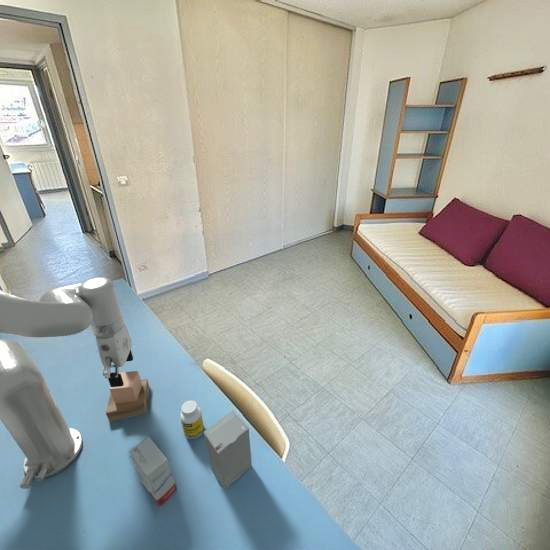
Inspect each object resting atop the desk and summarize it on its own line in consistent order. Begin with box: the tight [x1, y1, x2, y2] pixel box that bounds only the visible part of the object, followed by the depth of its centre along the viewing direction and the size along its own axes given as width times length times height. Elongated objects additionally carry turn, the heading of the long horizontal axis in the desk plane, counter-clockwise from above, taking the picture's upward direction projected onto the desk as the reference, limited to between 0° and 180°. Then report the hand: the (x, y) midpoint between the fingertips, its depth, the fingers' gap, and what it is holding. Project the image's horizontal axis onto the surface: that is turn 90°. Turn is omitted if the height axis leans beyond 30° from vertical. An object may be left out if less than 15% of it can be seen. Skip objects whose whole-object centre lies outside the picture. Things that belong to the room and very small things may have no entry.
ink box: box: [129, 436, 178, 507], centre depth 68 cm, size 9×5×12 cm, turn 48°
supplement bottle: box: [179, 400, 205, 440], centre depth 81 cm, size 5×5×10 cm
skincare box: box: [203, 410, 252, 490], centre depth 70 cm, size 8×7×16 cm
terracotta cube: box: [109, 370, 142, 404], centre depth 89 cm, size 6×6×6 cm
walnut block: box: [105, 378, 150, 422], centre depth 91 cm, size 10×10×4 cm
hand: (122, 372), depth 86 cm, fingers open, 9 cm apart
